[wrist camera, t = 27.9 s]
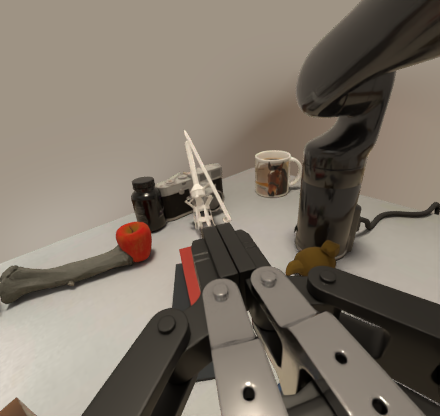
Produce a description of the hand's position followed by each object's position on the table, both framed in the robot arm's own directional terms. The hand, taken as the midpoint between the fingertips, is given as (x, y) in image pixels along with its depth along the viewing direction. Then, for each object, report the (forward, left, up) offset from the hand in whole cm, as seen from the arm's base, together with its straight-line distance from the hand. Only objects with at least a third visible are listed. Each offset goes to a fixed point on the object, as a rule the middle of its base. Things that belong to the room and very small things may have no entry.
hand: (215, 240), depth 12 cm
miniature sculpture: (+7, -49, -4) cm, 50 cm away
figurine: (-17, -18, -19) cm, 31 cm away
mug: (-21, -51, -23) cm, 60 cm away
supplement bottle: (+14, -40, -22) cm, 48 cm away
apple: (+15, -28, -23) cm, 39 cm away
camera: (+2, -45, -23) cm, 51 cm away
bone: (+27, -25, -23) cm, 43 cm away
